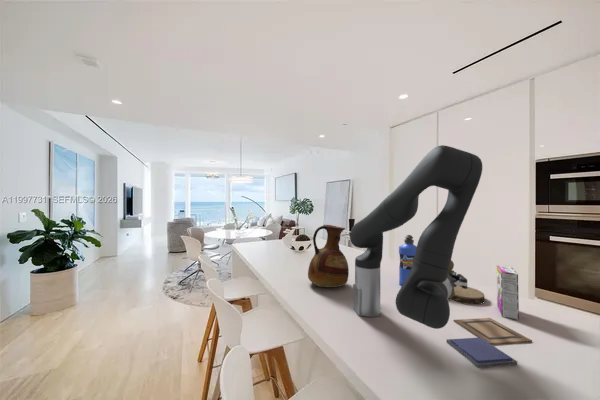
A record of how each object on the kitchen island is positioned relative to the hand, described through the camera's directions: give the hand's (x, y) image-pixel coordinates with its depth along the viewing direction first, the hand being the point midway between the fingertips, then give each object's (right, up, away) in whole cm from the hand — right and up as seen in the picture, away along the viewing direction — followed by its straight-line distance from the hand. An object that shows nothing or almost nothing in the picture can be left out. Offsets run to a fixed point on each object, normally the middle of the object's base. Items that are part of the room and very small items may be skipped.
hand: (445, 272), depth 79 cm
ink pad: (+1, -18, -13) cm, 22 cm away
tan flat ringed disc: (+23, -19, +27) cm, 40 cm away
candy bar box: (+30, -19, +11) cm, 37 cm away
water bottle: (+6, -19, +41) cm, 45 cm away
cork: (-2, -6, -2) cm, 7 cm away
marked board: (+13, -18, -2) cm, 23 cm away
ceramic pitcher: (-34, -19, +41) cm, 57 cm away
